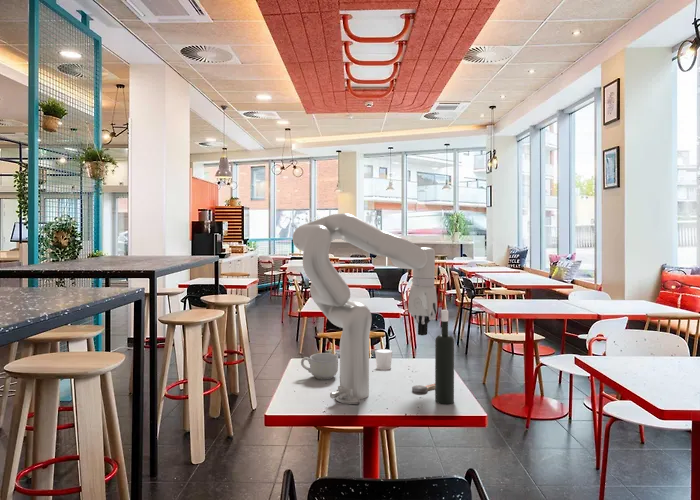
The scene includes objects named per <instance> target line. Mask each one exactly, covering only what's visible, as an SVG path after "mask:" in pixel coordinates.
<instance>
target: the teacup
mask: <svg viewBox="0 0 700 500" xmlns="http://www.w3.org/2000/svg"><path fill="white" fill-rule="evenodd" d="M304 361H308V364H309V367H308V366H306V365H305V363H304ZM300 365H301V366H302V368H304V370H306V371H308V373H310V374H311V375H312V377H315V379H317V380H325V381H326V380H331V379H333V378H334V376H336V374H337V373H338V370H339V369H338V368H339V356H338V355H337V354H335V353H330V352H319V353H314V354H311V355H310V356H309V357H308V356H305V357H302V359H301V361H300Z"/></svg>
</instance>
